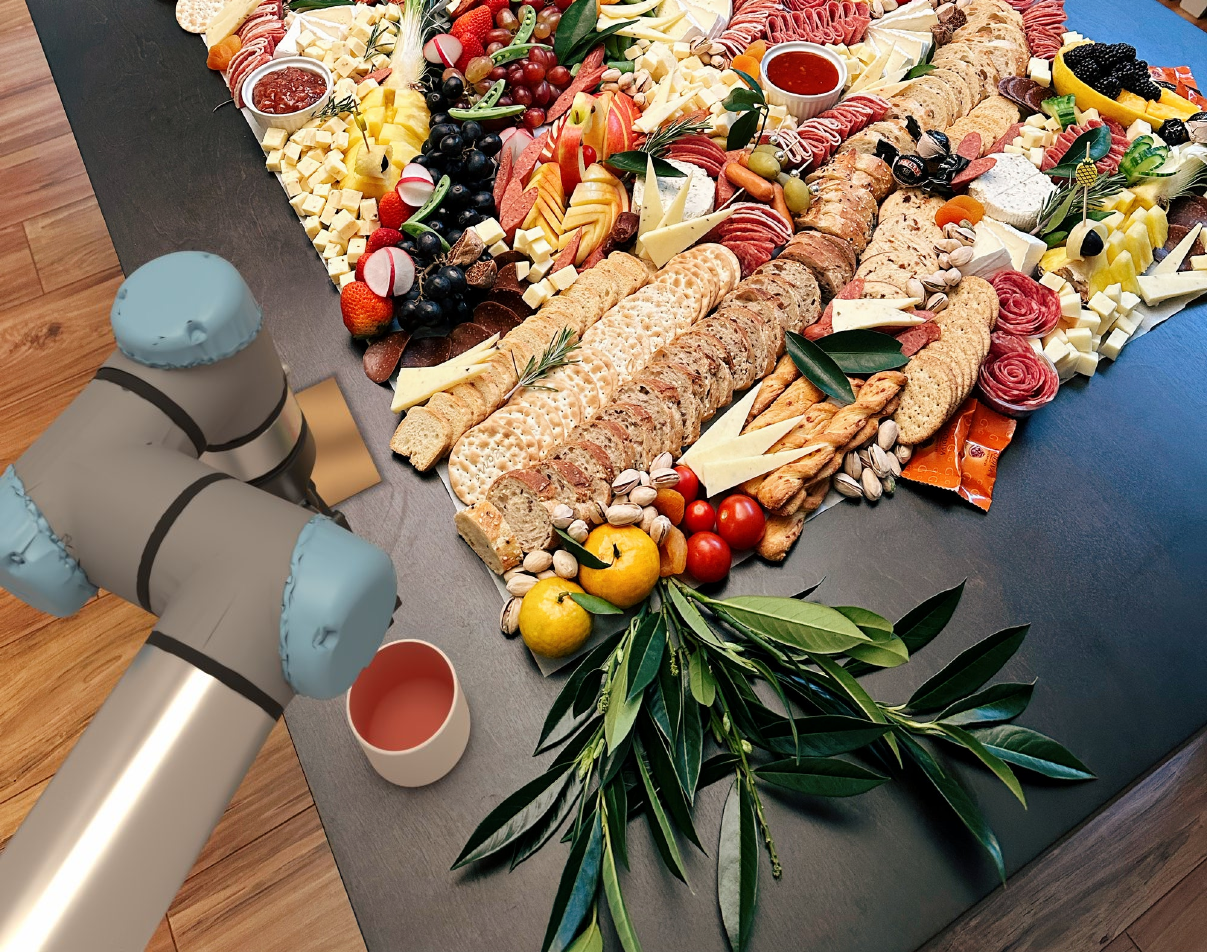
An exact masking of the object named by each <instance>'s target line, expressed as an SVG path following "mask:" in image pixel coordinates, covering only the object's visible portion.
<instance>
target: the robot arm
mask: <svg viewBox="0 0 1207 952" xmlns="http://www.w3.org/2000/svg"><path fill="white" fill-rule="evenodd" d="M109 315H110V319H109V320H110V325H111V328H112V332H113V334H112V335H113V336H114V338H113V340H114V341H115V342H116V344H115V345H116V346H117V348H115V350H114V351H112V353H111V354H110V355H109V356H108V357H107V358H106V359H105V361H104V362H103V363H102V364H101V365H100V366H99V368H97V370H96V372H95V375H94V376H93V377H92V378H91V379H90V380H89V381H88V384H87V385H86V386H85V387H84V388H83V389H82V391H81V392H79V394H78V395H77V396H76V397H75V398H74V399H73V400H72V401H71V402H70V403H69V405H67V407H66V408H65V409H63V411H62V412H61V413H60V414H59V415H58V416H57V417H56V418H55V419H54V420H53V421H52V423H50V424H49V425H48V426H47V427H46V429H45V430H44V431H42V433H41V434H40V435H39V436H38V437H37V438H36V439H35V440H34V441H33V443H31V444H30V445H29V447H27V449H26V450H24V452H23V453H21V455H20V456H19V457H18V458H17V459H16V460H15V461H14V462H12V463H10V464H8V466H7V467H6V469H5V470H4V471H3V474H2V475H1V476H0V587H1V588H2V589H3V590H5V591H7V592H8V593H9V594H11V595H12V596H14V597H15V598H17V599H19V600H20V601H22V602H24V603H25V604H27V605H29V606H30V607H32V608H34V609H35V610H37V611H39V612H42V613H43V614H49V615H50V616H53V617H55V618H60V619H63V618H70V617H72V616H74V615H76V614H77V613H78V612H79V611H80V610H81V609H82V608H83V607H84V606H85V605H86V604H87V603H88V602H89V601H90V599H92V598H95V597H97V596H98V595H97V594H98V593H99V592H100V589H102V590H104V591H107V592H108V593H111V594H112V595H115V596H117V597H118V598H121V599H122V600H124V601H125V602H128V603H130V604H131V605H134V606H136V607H138V608H140V609H141V610H143V611H146V612H147V613H149V614H151V615H153V616H155V617H156V618H158V619H157V622H156V623H155V624H154V626H153V628H151V632H150V634H149V635H148V637H147V638H146V640H145V641H144V643H143V644H142V646H141V647H140V648H139V650H138V651H137V653H136V654H135V656H134V657H133V658H132V660H131V662H130V663H129V665H128V666H127V667H126V669H125V670H124V672H123V674H122V675H121V676H120V678H119V679H118V680H117V682H116V684H115V685H114V686H113V688H112V689H111V691H110V692H109V694H108V696H107V697H106V698H105V700H104V701H103V703H102V704H101V706H100V707H99V709H98V710H97V711H96V712H95V715H94V716H93V717H92V718H91V721H90V722H89V723H88V725H87V727H85V729H84V730H83V733H82V734H81V735H80V737H78V740H77V741H76V743H75V744H74V745H73V747H72V748H71V750H70V751H69V753H68V754H67V756H66V757H65V758H64V760H63V762H62V763H61V765H60V766H59V767H58V769H57V770H56V772H55V773H54V774H53V776H52V778H51V779H50V781H49V782H48V783H47V785H46V787H45V788H44V789H43V791H42V792H41V794H40V795H39V796H38V798H37V800H36V801H35V803H34V804H33V806H31V808H30V809H29V811H28V813H27V814H26V816H25V817H24V819H23V820H22V822H21V823H20V825H19V826H18V827H17V829H16V830H15V832H14V833H13V835H12V837H11V838H10V839H9V841H8V842H7V843H6V845H5V846H4V849H2V851H1V852H0V952H145V950H146V948H147V946H148V945H149V943H150V941H151V940H152V938H153V936H154V934H155V933H156V932H157V929H158V927H159V925H160V924H161V922H162V920H163V919H164V918H165V916H166V914H167V912H168V910H169V909H170V907H171V905H172V904H173V902H174V900H175V898H176V897H177V895H178V893H179V892H180V889H181V888H182V887H183V884H184V883H185V881H186V879H187V878H188V877H189V874H190V872H191V871H192V869H193V868H194V867H195V864H196V862H197V861H198V859H199V857H200V856H201V854H202V852H203V851H204V849H205V847H206V845H207V844H208V842H209V840H210V838H211V836H212V835H213V833H214V831H215V830H216V828H217V826H218V824H220V823H219V822H220V821H221V819H222V817H223V816H224V814H225V812H226V811H227V809H228V807H229V806H230V805H231V802H232V801H233V799H234V797H235V796H236V794H237V792H238V791H239V788H240V787H241V785H242V783H243V782H244V780H245V778H246V777H247V774H248V773H249V771H250V770H251V768H252V766H253V764H254V763H255V761H256V759H257V758H258V756H259V754H260V752H261V751H262V749H263V747H264V745H265V744H266V742H267V741H268V738H269V737H270V735H271V733H272V732H273V730H274V729H275V727H276V725H277V724H278V722H279V721H280V719H281V717H282V715H283V714H284V712H285V710H286V708H287V707H288V706H289V704H290V703H291V702H292V700H293V699H294V698H295V696H296V695H300V696H301V697H303V698H306V697H309V698H312V699H314V700H317V701H331V700H334V699H336V698H338V697H340V696H341V695H343V694H345V693H346V692H348V689H349V688H350V687H351V686H352V685H353V684H354V683H355V681H356V680H357V678H358V675H359V674H360V672H361V670H363V669H365V668H366V667H368V666H369V664H370V663H371V661H372V660H373V658H374V656H375V655H376V653H377V651H378V649H379V648H380V647H381V645H382V643H383V642H384V638H385V637H386V634H387V632H388V630H389V629H390V628H391V627H392V626H393V625H394V624H395V619H394V616H393V615H394V614H395V612H397V611H398V609H400V608H401V606H402V605H403V602H402V600H401V597H400V596H399V595H398V585H399V583H398V577H397V576H398V574H397V570H396V567H395V564H394V562H393V559H392V558H391V555H390V553H389V552H387V551H386V550H385V549H383V548H382V547H380V546H379V545H376V544H374V543H373V542H371V541H369V540H367V539H366V538H363V537H361V536H359V535H358V534H356V533H354V532H353V529H352V528H351V526H350V523H349V522H348V520H347V519H346V515H345V514H344V513H343V512H342V511H340V510H339V509H334V510H333V511H332V509H331V507H328V505H327V504H326V503H325V502H324V500H323V499H322V498H321V497H320V495H319V494H318V493H317V491H316V485H315V483H314V482H313V481H312V479H311V478H310V477H311V474H312V471H313V468H314V465H315V460H316V444H315V440H314V437H313V435H312V432H311V430H310V428H309V425H308V423H307V421H306V418H305V416H304V414H303V412H302V410H301V409H300V407H299V404H298V402H297V399H296V397H295V393H294V390H293V389H292V386H291V384H290V381H289V379H288V377H289V376H290V374H291V373H292V370H291V367H290V366H289V365H288V364H287V363H285V362H282V361H281V359H280V357H279V354H278V352H277V349H276V346H275V344H274V341H273V339H272V336H271V334H270V332H269V329H268V326H267V324H266V321H265V319H264V313H263V309H262V307H261V306H260V304H259V302H258V301H257V299H255V297H254V295H253V293H252V291H251V289H250V287H249V285H248V284H247V282H246V281H245V279H244V278H243V277H242V275H241V273H240V272H239V270H238V269H237V268H236V267H235V265H233V264H232V263H231V262H229V261H228V260H227V259H225V258H223V257H221V256H220V255H218V254H214V253H211V252H207V251H201V250H182V251H181V250H180V251H175V252H171V253H167V254H165V255H161V256H158V257H156V258H154V259H152V260H150V261H148V262H146V263H145V264H142V266H140V267H138V268H137V269H136V270H134V271H133V272H132V273H131V274H130V275H129V276H128V277H127V278H126V279H125V280H124V281H123V282H122V284H121V285H120V287H119V288H118V289H117V293H116V296H115V299H114V302H113V304H112V308H111V310H110V313H109Z"/></svg>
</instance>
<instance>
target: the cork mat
mask: <svg viewBox="0 0 1207 952" xmlns="http://www.w3.org/2000/svg"><path fill="white" fill-rule="evenodd" d="M294 395H295V397H296V399H297V402H298V404H299V407H300V409H301V410H302V412H303V414H304V416H305V418H306V421H307V423H308V425H309V428H310V430H311V432H312V435H313V437H314V440H315V444H316V460H315V465H314V468H313V471H312V474H311V477H310V478H311V479H312V481H313V482H314V483H315V485H316V491H317V493H318V494H319V495H320V497H321V498H322V499H323V500H324V502H325V503H326V504H327V505H328V507H329V508H331V507H333V506H335V505H337V504H339V503H341V502H344V501H345V500H348V499H350V498H352V497H353V496H356V495H357V494H359V493H362V492H363V491H366V490H368V489H369V488H371V487H374V486H376V485H377V484H380V483H382V482H383V480H382V477H381V476H380V474H379V472H378V469H377V467H376V465H375V463H374V461H373V458H372V456H371V454H370V453H369V449H368V448H367V446H366V443H365V442H364V439H363V437H362V435H361V433H360V430H359V428H358V426H357V424H356V421H355V420H354V418H353V415H352V414H351V411H350V408H349V407H348V404H347V403H346V400H345V398H344V396H343V394H342V391H341V390H340V387H339V385H338V383H337V381H336V379H335V376H332V377H330V378H328V379H325V380H324V381H321V382H319V383H317V384H315V385H313V386H311V387H308V388H306V389H304V390H302V391H300V392H297V393H294Z"/></svg>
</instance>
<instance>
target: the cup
mask: <svg viewBox="0 0 1207 952" xmlns="http://www.w3.org/2000/svg"><path fill="white" fill-rule="evenodd" d="M345 709H346V710H345V711H346V717H347V722H348V724H349V727H350V730H351V731H352V733H353V735H354V737H355V738H356V740H357V742H358V743H359V745H360V747H361V748H362V750H363V752H364V754H365V756H366V757H367V759H368V761H369V762H370V764H371V766H372V767H373V768H374V770H375V771H376V773H378V774H379V776H381V777H382V778H383V779H385V780H387V781H388V782H390V783H392V784H394V785H397V786H401V787H405V788H416V787H422V786H426V785H430V784H432V783H435V782H436V781H438V780H440V779H441V778H443V777H444V776H445V775H447V774H448V773H449V772H450V771H451V770H453V768H454V767H455V766H456V765H457V763H458V762H459V761H460V759H461V757H462V756H463V754H464V752H465V750H466V748H467V746H468V745H467V744H468V742H469V738H470V734H471V714H470V709H469V705H468V703H467V700H466V697H465V694H464V691H463V689H462V687H461V683H460V680H459V678H458V676H457V672H456V670H455V667H454V665H453V663H452V661H451V660H450V658H449V656H447V655H446V653H445V652H444V651H442V649H440V648H439V647H438V646H436V645H435V644H433V643H431V642H428V641H426V640H423V639H417V638H404V639H398V640H394V641H391V642H388V643H385V644H384V645H382V646H380V647H379V649H378V651H377V653H376V655H375V656H374V658H373V660H372V661H371V663H370V664H369V666H368V667H366V668H365V669H363V670H361V672H360V674H359V675H358V678H357V680H356V681H355V683H354V684H353V685H352V686H351V687H350V688H349V689H348V690H347V693H346V701H345Z"/></svg>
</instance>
